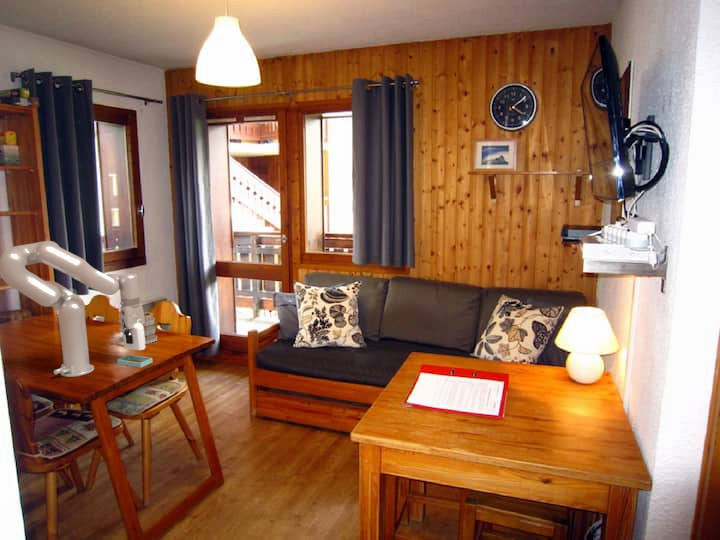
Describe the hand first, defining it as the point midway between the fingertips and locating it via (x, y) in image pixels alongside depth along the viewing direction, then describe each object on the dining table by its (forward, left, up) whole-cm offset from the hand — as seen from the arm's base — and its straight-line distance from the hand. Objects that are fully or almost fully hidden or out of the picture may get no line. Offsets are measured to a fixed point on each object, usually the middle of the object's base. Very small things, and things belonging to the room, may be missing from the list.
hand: (134, 341), depth 226 cm
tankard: (+23, +21, -10) cm, 33 cm away
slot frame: (0, 0, -10) cm, 10 cm away
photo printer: (0, 0, -4) cm, 4 cm away
